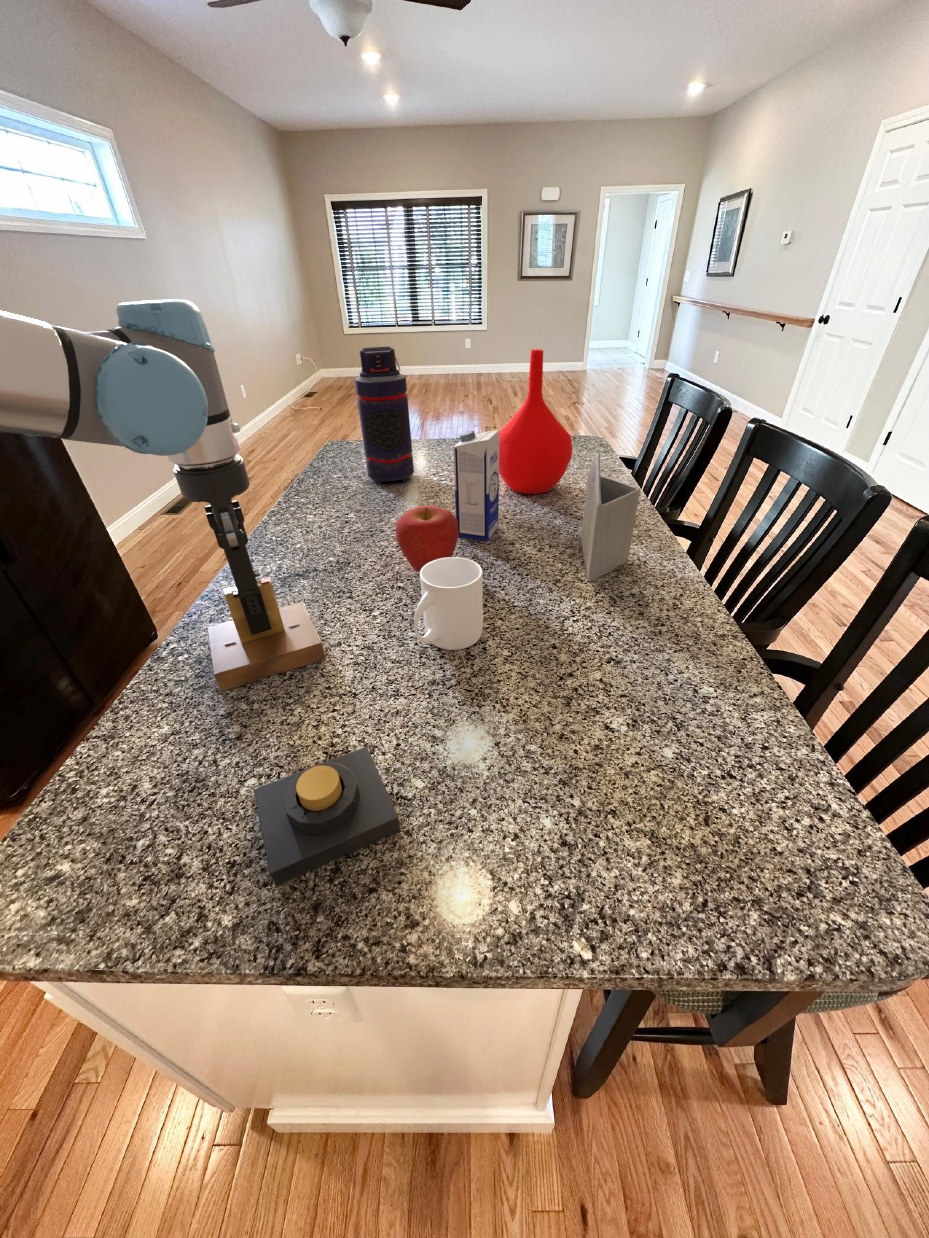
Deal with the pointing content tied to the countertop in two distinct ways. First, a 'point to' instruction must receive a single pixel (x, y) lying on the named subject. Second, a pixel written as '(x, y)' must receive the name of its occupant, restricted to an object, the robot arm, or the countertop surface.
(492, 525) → the milk carton
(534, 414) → the vase
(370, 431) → the navy water bottle
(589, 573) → the planter
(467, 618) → the mug
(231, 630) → the plate
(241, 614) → the thumbturn
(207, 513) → the robot arm
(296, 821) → the push button housing
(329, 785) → the button
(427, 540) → the apple
